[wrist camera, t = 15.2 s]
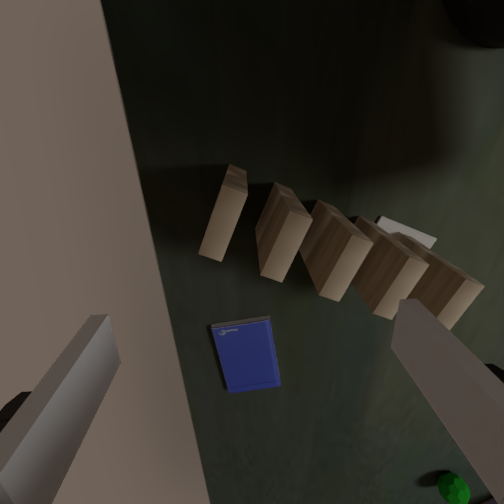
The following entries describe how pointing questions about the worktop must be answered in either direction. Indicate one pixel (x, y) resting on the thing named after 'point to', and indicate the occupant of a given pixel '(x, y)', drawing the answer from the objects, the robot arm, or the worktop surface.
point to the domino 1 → (225, 213)
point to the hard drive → (247, 354)
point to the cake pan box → (490, 501)
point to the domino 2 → (280, 231)
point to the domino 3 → (333, 250)
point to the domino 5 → (441, 284)
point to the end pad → (405, 231)
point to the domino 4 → (386, 270)
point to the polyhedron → (453, 488)
